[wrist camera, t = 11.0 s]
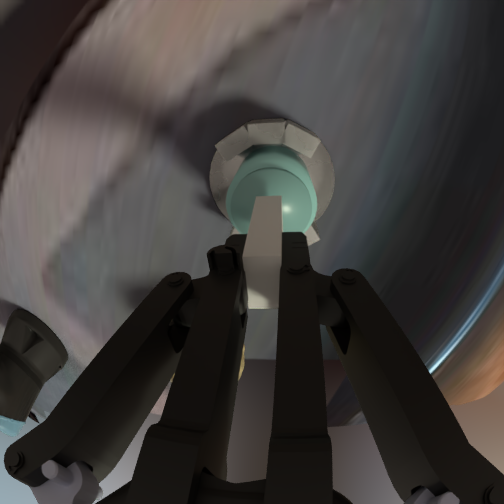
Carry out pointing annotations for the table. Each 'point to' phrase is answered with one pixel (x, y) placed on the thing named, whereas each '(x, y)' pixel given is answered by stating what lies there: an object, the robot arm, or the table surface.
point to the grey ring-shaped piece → (273, 134)
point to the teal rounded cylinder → (272, 188)
